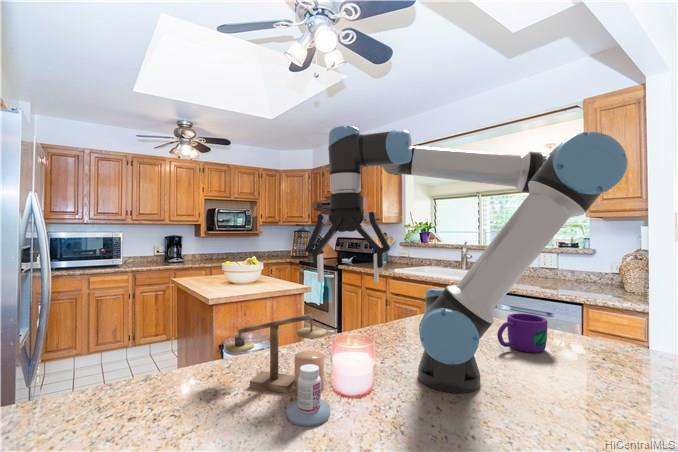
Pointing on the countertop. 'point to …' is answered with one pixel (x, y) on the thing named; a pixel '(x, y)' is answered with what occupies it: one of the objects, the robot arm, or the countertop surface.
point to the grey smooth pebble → (308, 415)
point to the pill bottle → (309, 389)
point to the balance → (274, 352)
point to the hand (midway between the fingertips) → (348, 281)
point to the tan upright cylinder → (309, 358)
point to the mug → (525, 332)
